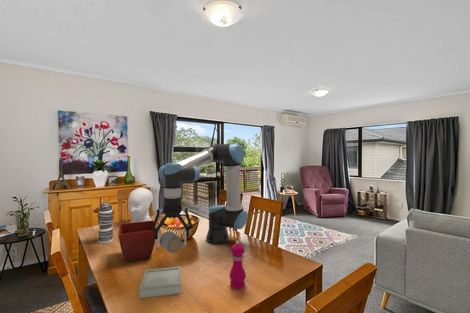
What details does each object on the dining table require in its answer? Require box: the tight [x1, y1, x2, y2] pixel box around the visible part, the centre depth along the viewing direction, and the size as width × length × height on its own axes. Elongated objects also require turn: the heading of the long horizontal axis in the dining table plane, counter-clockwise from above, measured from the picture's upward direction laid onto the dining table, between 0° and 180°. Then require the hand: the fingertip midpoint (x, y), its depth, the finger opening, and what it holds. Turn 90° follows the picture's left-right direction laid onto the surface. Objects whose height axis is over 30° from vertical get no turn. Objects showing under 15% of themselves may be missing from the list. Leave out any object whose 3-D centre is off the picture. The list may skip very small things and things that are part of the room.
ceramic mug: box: [160, 230, 187, 253], centre depth 109 cm, size 11×8×8 cm
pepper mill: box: [229, 240, 246, 290], centre depth 106 cm, size 7×7×20 cm
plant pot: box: [117, 220, 157, 263], centre depth 136 cm, size 19×19×17 cm
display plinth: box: [139, 266, 181, 299], centre depth 106 cm, size 16×16×4 cm
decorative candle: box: [97, 202, 114, 244], centre depth 159 cm, size 9×9×25 cm
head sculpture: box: [128, 187, 154, 223], centre depth 194 cm, size 20×23×30 cm
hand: (172, 245), depth 109 cm, fingers closed on ceramic mug, 11 cm apart
